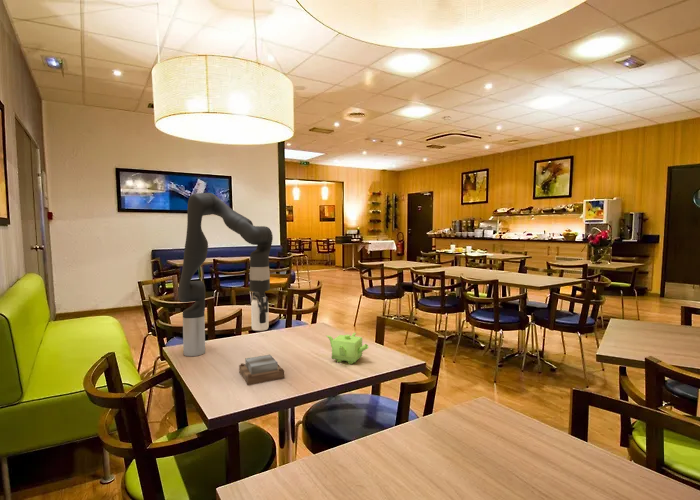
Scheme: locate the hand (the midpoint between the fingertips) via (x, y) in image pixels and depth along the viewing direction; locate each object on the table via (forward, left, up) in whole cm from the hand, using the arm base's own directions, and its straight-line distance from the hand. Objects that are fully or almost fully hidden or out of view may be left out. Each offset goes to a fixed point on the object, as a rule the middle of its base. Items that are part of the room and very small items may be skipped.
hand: (260, 320), depth 148 cm
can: (0, 0, -3) cm, 3 cm away
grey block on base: (0, 0, -22) cm, 22 cm away
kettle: (0, +38, -22) cm, 44 cm away
